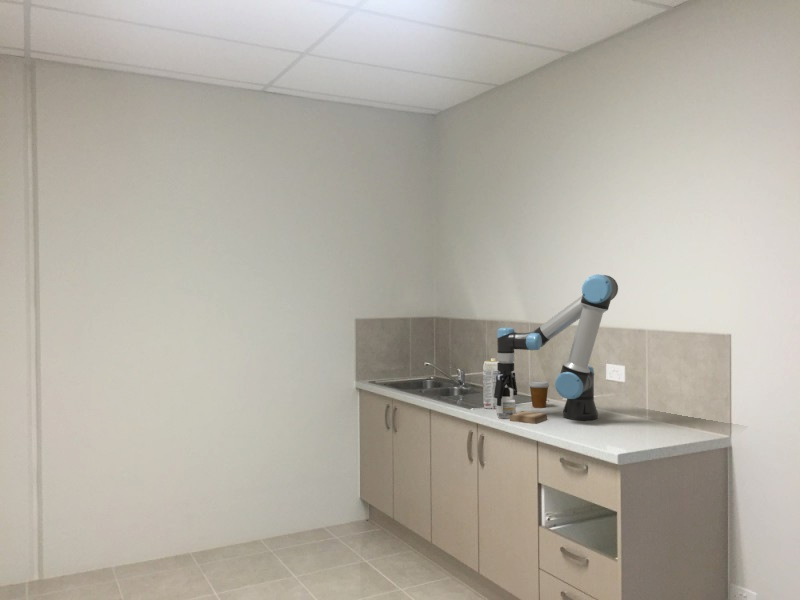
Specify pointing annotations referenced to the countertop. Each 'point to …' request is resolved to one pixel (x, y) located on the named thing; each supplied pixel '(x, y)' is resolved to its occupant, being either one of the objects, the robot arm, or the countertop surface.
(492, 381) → the juice carton
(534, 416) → the stand
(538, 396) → the disposable coffee cup
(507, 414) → the container
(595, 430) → the countertop surface
